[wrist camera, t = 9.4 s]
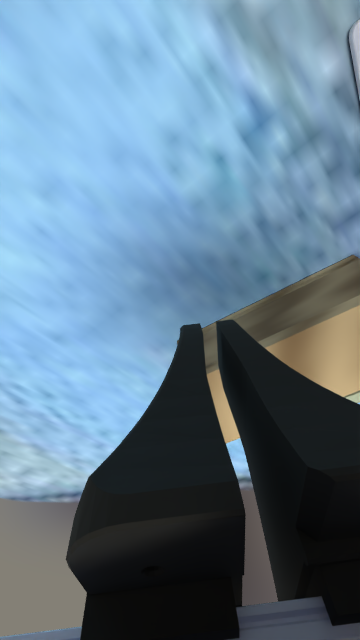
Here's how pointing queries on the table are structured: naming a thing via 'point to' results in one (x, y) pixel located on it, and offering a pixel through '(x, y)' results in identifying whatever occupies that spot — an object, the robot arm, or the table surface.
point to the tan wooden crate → (301, 333)
